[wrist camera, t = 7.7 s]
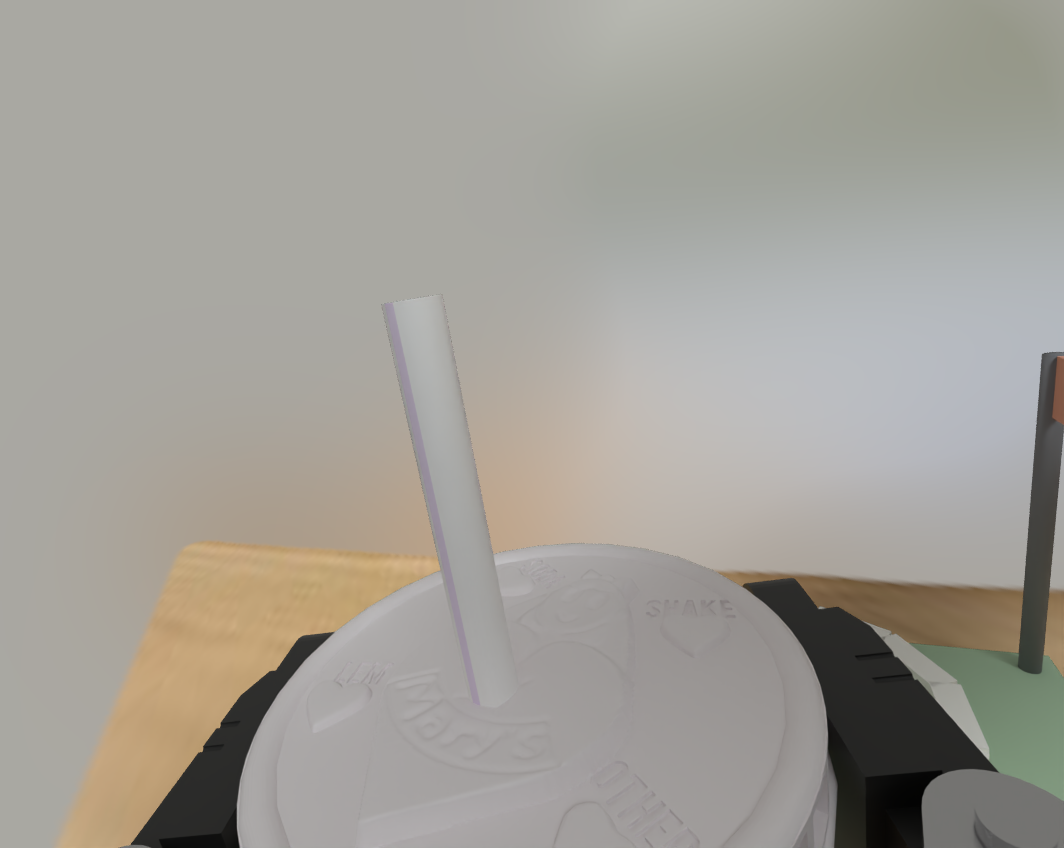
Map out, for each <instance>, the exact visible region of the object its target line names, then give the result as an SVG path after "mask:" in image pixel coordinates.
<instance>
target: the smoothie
mask: <svg viewBox="0 0 1064 848" xmlns="http://www.w3.org/2000/svg"><path fill="white" fill-rule="evenodd" d="M381 305H382V310H383V314H384V319H385V323H386V328H387V332H388V337H389V341H390V346H391V350H392V354H393V359H394V363H395V368H396V372H397V377H398V381H399V386H400V390H401V394H402V399H403V404H404V408H405V413H406V417H407V422H408V426H409V431H410V435H411V440H412V444H413V449H414V453H415V458H416V462H417V466H418V471H419V475H420V479H421V484H422V489H423V493H424V497H425V502H426V507H427V511H428V516H429V520H430V525H431V529H432V534H433V538H434V543H435V547H436V552H437V556H438V561H439V565H440V570H441V571H438V572H435V573H433V574H431V575H428V576H426V577H424V578H422V579H420V580H418V581H416V582H413V583H411V584H409V585H407V586H405V587H403V588H400V589H399V590H397V591H395V592H394V593H392V594H390V595H389V596H387V597H385V598H383V599H382V600H380V601H378V602H377V603H375V604H373V605H372V606H370V607H368V608H367V609H365V610H364V611H362V612H361V613H360V614H358V615H357V616H356V617H354V618H353V619H352V620H350V621H349V622H348V623H346V624H345V625H344V626H342V627H341V628H340V629H338V630H337V631H336V632H334V633H333V634H332V635H331V636H330V637H329V638H328V639H327V640H326V641H325V642H324V643H323V644H322V645H321V646H320V647H319V648H317V649H316V650H315V651H314V652H313V653H312V654H311V655H310V656H309V657H308V658H307V659H306V660H305V661H304V662H303V663H302V665H301V666H300V667H299V668H298V670H297V671H296V672H295V673H294V675H293V676H292V677H291V678H290V679H289V681H288V682H287V683H286V685H285V686H284V687H283V688H282V690H281V691H280V692H279V693H278V695H277V697H276V698H275V700H274V702H273V703H272V705H271V706H270V708H269V710H268V711H267V713H266V714H265V716H264V718H263V720H262V722H261V724H260V726H259V728H258V730H257V732H256V734H255V736H254V738H253V741H252V744H251V746H250V749H249V752H248V754H247V757H246V760H245V764H244V768H243V772H242V775H241V779H240V786H239V793H238V800H237V832H238V839H239V845H240V848H834V840H835V824H836V807H837V791H838V783H837V780H836V776H835V773H834V769H833V766H832V762H831V759H830V755H829V751H828V729H827V717H826V707H825V703H824V699H823V694H822V690H821V686H820V683H819V681H818V678H817V675H816V673H815V670H814V667H813V665H812V663H811V661H810V659H809V658H808V656H807V654H806V652H805V650H804V648H803V647H802V645H801V644H800V642H799V641H798V639H797V638H796V637H795V635H794V634H793V632H792V631H791V630H790V629H789V627H788V626H787V625H786V624H785V623H784V622H783V621H782V620H781V619H780V617H779V616H778V615H777V614H776V613H775V612H773V611H772V610H771V609H770V608H769V607H768V606H767V605H766V604H765V603H764V602H762V601H761V600H760V599H758V598H757V597H756V596H754V595H753V594H752V593H750V592H749V591H748V590H747V589H745V588H743V587H742V586H740V585H738V584H736V583H735V582H733V581H731V580H729V579H728V578H726V577H724V576H722V575H721V574H719V573H717V572H715V571H714V570H711V569H709V568H706V567H703V566H700V565H698V564H696V563H693V562H690V561H688V560H685V559H683V558H680V557H676V556H673V555H669V554H664V553H660V552H656V551H652V550H648V549H643V548H636V547H627V546H620V545H612V544H585V543H571V544H557V545H543V546H534V547H528V548H522V549H516V550H510V551H504V552H500V553H496V554H493V551H492V546H491V541H490V536H489V531H488V526H487V520H486V515H485V510H484V505H483V500H482V495H481V490H480V484H479V480H478V475H477V469H476V464H475V459H474V454H473V449H472V444H471V439H470V433H469V428H468V423H467V418H466V413H465V408H464V403H463V398H462V393H461V388H460V382H459V377H458V373H457V367H456V362H455V357H454V352H453V347H452V341H451V336H450V332H449V326H448V321H447V316H446V311H445V306H444V301H443V296H442V294H439V295H432V296H426V297H420V298H414V299H408V300H402V301H396V302H391V303H385V304H381Z"/></svg>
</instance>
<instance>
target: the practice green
mask: <svg viewBox="0 0 1064 848" xmlns="http://www.w3.org/2000/svg"><path fill="white" fill-rule="evenodd" d="M1038 401H1039V402H1038V413H1037V425H1036V426H1037V427H1036V439H1035V451H1034V464H1033V477H1032V490H1031V503H1030V517H1029V528H1028V541H1027V542H1028V543H1027V555H1026V567H1025V581H1024V593H1023V605H1022V618H1021V631H1020V644H1019V653H1011V652H1001V651H990V650H979V649H968V648H957V647H946V646H936V645H925V644H914V643H908V642H906V641H905V640H904V639H902V638H901V637H900V636H898V635H897V634H893V635H891V631H889V630H886V629H884V628H881V627H878V626H875V625H872V624H869V623H867V622H864V621H863V622H864V623H866V624H868V625H870V626H871V627H872V628H873V629H874V630H875V632H876V633H877V634H878V635H879V636H880V637H881V638H882V640H883V641H884V642H885V643H886V644H887V645H888V646H889V648H890V649H891V650H892V651H893V654H894V656H895V657H898V658H899V659H900V660H901V661H902V662H903V663H904V665H905V666H906V667H907V668H908V669H909V670H910V671H911V673H912V675H913V678H914V680H917V679H918V681H919V682H920V683H921V684H922V685H923V686H924V687H925V689H926V690H927V691H928V692H929V693H930V694H931V695H932V696H933V698H934V699H935V700H936V701H937V702H938V703H939V704H940V706H941V707H942V708H943V709H944V710H945V711H946V712H947V714H948V715H949V716H950V717H951V718H952V719H953V720H954V722H955V723H956V724H957V725H958V726H959V727H960V728H961V729H962V731H963V732H964V733H965V734H966V735H967V736H968V737H969V739H970V740H971V741H972V742H973V743H974V744H975V745H976V747H977V748H978V749H979V750H980V751H981V752H982V753H983V755H984V756H985V757H986V758H987V759H988V760H989V761H990V763H991V764H992V765H993V766H994V767H995V768H996V769H997V770H998V772H999V773H1002V774H1006V775H1009V776H1012V777H1016V778H1019V779H1021V780H1024V781H1026V782H1029V783H1031V784H1034V785H1036V786H1038V787H1040V788H1042V789H1044V790H1046V791H1048V792H1049V793H1051V794H1053V795H1054V796H1056V797H1058V798H1059V799H1061V800H1063V801H1064V678H1063V676H1062V675H1061V673H1060V672H1059V670H1058V669H1057V668H1056V666H1055V665H1054V663H1053V662H1052V660H1051V659H1050V657H1049V656H1044V655H1043V654H1044V643H1045V631H1046V620H1047V609H1048V598H1049V587H1050V576H1051V565H1052V554H1053V543H1054V531H1055V521H1056V509H1057V498H1058V488H1059V477H1060V466H1061V455H1062V453H1061V452H1062V444H1063V433H1064V352H1050V353H1044V354H1042V363H1041V375H1040V388H1039V400H1038ZM818 609H824V607H821V606H820V607H819V608H818Z"/></svg>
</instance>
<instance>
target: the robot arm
mask: <svg viewBox="0 0 1064 848" xmlns="http://www.w3.org/2000/svg"><path fill="white" fill-rule="evenodd" d="M743 588H745V589H747V590H748V591H749V592H750V593H752V594H753V595H754V596H756V597H757V598H758V599H760V600H761V601H762V602H764V603H765V604H766V605H767V606H768V607H769V608H770V609H771V610H772V611H773V612H775V613H776V614H777V615H778V616H779V617H780V619H781V620H782V621H783V622H784V623H785V624H786V625H787V626H788V627H789V629H790V630H791V631H792V632H793V634H794V635H795V637H796V638H797V639H798V641H799V642H800V644H801V645H802V647H803V648H804V650H805V652H806V654H807V656H808V658H809V659H810V661H811V663H812V665H813V667H814V670H815V673H816V675H817V678H818V681H819V683H820V686H821V690H822V694H823V699H824V703H825V707H826V717H827V729H828V751H829V755H830V759H831V762H832V766H833V769H834V773H835V776H836V780H837V783H838V791H837V807H836V824H835V840H834V848H1064V801H1063V800H1061V799H1059V798H1058V797H1056V796H1054V795H1053V794H1051V793H1049V792H1048V791H1046V790H1044V789H1042V788H1040V787H1038V786H1036V785H1034V784H1031V783H1029V782H1026V781H1024V780H1021V779H1019V778H1016V777H1012V776H1009V775H1006V774H1002V773H999V772H998V770H997V769H996V768H995V767H994V766H993V765H992V764H991V763H990V761H989V760H988V759H987V758H986V757H985V756H984V755H983V753H982V752H981V751H980V750H979V749H978V748H977V747H976V745H975V744H974V743H973V742H972V741H971V740H970V739H969V737H968V736H967V735H966V734H965V733H964V732H963V731H962V729H961V728H960V727H959V726H958V725H957V724H956V723H955V722H954V720H953V719H952V718H951V717H950V716H949V715H948V714H947V712H946V711H945V710H944V709H943V708H942V707H941V706H940V704H939V703H938V702H937V701H936V700H935V699H934V698H933V696H932V695H931V694H930V693H929V692H928V691H927V690H926V689H925V687H924V686H923V685H922V684H921V683H920V682H919V681H918V679H917V680H914V678H913V675H912V673H911V671H910V670H909V669H908V668H907V667H906V666H905V665H904V663H903V662H902V661H901V660H900V659H899V658H898V657H895V656H894V654H893V651H892V650H891V649H890V648H889V646H888V645H887V644H886V643H885V642H884V641H883V640H882V638H881V637H880V636H879V635H878V634H877V633H876V632H875V630H874V629H873V628H872V627H871V626H870V625H868V624H866V623H864V622H863V621H861V620H859V619H858V618H856V617H854V616H853V615H851V614H849V613H848V612H846V611H844V610H842V609H841V608H839V607H833V608H824V609H818V608H817V606H816V605H815V604H814V602H813V601H812V600H811V598H810V597H809V596H808V595H807V593H806V592H805V591H804V589H803V588H802V587H801V586H800V584H799V583H798V582H797V581H796V580H795V579H793V578H788V579H780V580H771V581H763V582H755V583H746V584H744V585H743ZM333 633H334V632H330V633H322V634H314V635H305V636H302V637H300V638H299V639H298V640H297V641H296V643H295V644H294V646H293V647H292V648H291V650H290V651H289V653H288V654H287V656H286V657H285V658H284V660H283V661H282V663H281V664H280V666H279V667H278V668H277V670H276V671H270V672H268V673H267V674H266V675H265V676H264V677H262V678H261V679H260V680H259V681H258V682H256V683H255V684H254V685H253V686H252V687H250V688H249V689H248V690H247V691H246V692H245V693H243V694H242V695H241V696H240V697H239V699H238V700H237V701H236V703H235V704H234V705H233V707H232V708H231V710H230V711H229V712H228V714H227V715H226V716H225V718H224V719H223V720H222V722H221V727H220V728H217V729H216V730H215V731H214V733H213V734H212V735H211V737H210V738H209V739H208V741H207V742H206V743H205V745H204V746H203V752H200V753H198V754H197V755H196V757H195V758H194V760H193V761H192V762H191V764H190V765H189V766H188V768H187V769H186V770H185V772H184V773H183V774H182V776H181V777H180V778H179V780H178V781H177V783H176V784H175V785H174V787H173V788H172V789H171V791H170V792H169V793H168V795H167V796H166V797H165V799H164V800H163V801H162V803H161V804H160V806H159V807H158V808H157V810H156V811H155V812H154V814H153V815H152V816H151V818H150V819H149V820H148V822H147V823H146V824H145V826H144V827H143V829H142V830H141V831H140V833H139V834H138V835H137V837H136V838H135V839H134V841H133V842H132V843H131V845H130V846H123V847H120V848H240V845H239V839H238V832H237V800H238V793H239V786H240V779H241V775H242V772H243V768H244V764H245V760H246V757H247V754H248V752H249V749H250V746H251V744H252V741H253V738H254V736H255V734H256V732H257V730H258V728H259V726H260V724H261V722H262V720H263V718H264V716H265V714H266V713H267V711H268V710H269V708H270V706H271V705H272V703H273V702H274V700H275V698H276V697H277V695H278V693H279V692H280V691H281V690H282V688H283V687H284V686H285V685H286V683H287V682H288V681H289V679H290V678H291V677H292V676H293V675H294V673H295V672H296V671H297V670H298V668H299V667H300V666H301V665H302V663H303V662H304V661H305V660H306V659H307V658H308V657H309V656H310V655H311V654H312V653H313V652H314V651H315V650H316V649H317V648H319V647H320V646H321V645H322V644H323V643H324V642H325V641H326V640H327V639H328V638H329V637H330V636H331V635H332V634H333Z"/></svg>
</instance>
